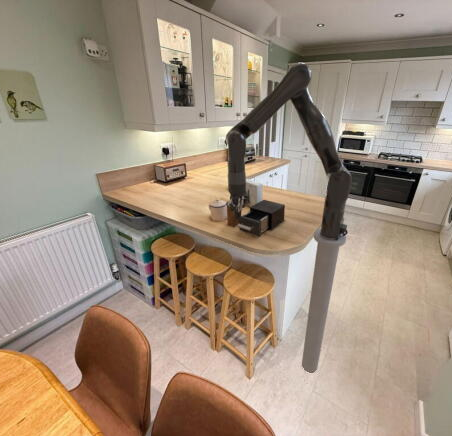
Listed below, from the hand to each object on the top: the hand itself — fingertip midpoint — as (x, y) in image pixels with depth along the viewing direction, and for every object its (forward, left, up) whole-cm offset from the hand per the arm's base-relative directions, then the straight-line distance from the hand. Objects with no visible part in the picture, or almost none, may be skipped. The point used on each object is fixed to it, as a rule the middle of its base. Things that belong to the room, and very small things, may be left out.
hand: (238, 218), depth 105 cm
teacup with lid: (+27, -13, -12) cm, 32 cm away
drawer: (0, -12, -11) cm, 16 cm away
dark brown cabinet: (0, -24, -12) cm, 27 cm away
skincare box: (+24, -39, -12) cm, 48 cm away
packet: (+14, -12, -12) cm, 22 cm away
